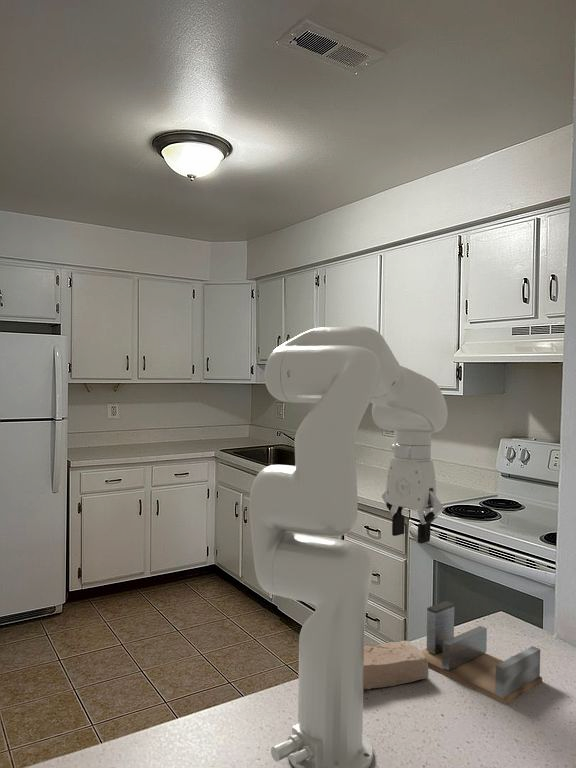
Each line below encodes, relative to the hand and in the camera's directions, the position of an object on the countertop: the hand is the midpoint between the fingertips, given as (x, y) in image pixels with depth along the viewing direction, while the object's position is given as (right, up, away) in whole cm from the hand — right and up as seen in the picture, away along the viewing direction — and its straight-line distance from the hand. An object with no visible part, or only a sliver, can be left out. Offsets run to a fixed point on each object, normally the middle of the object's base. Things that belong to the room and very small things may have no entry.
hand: (410, 537), depth 124 cm
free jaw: (+6, -21, -8) cm, 23 cm away
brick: (-7, -21, -19) cm, 29 cm away
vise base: (+10, -22, -12) cm, 27 cm away
